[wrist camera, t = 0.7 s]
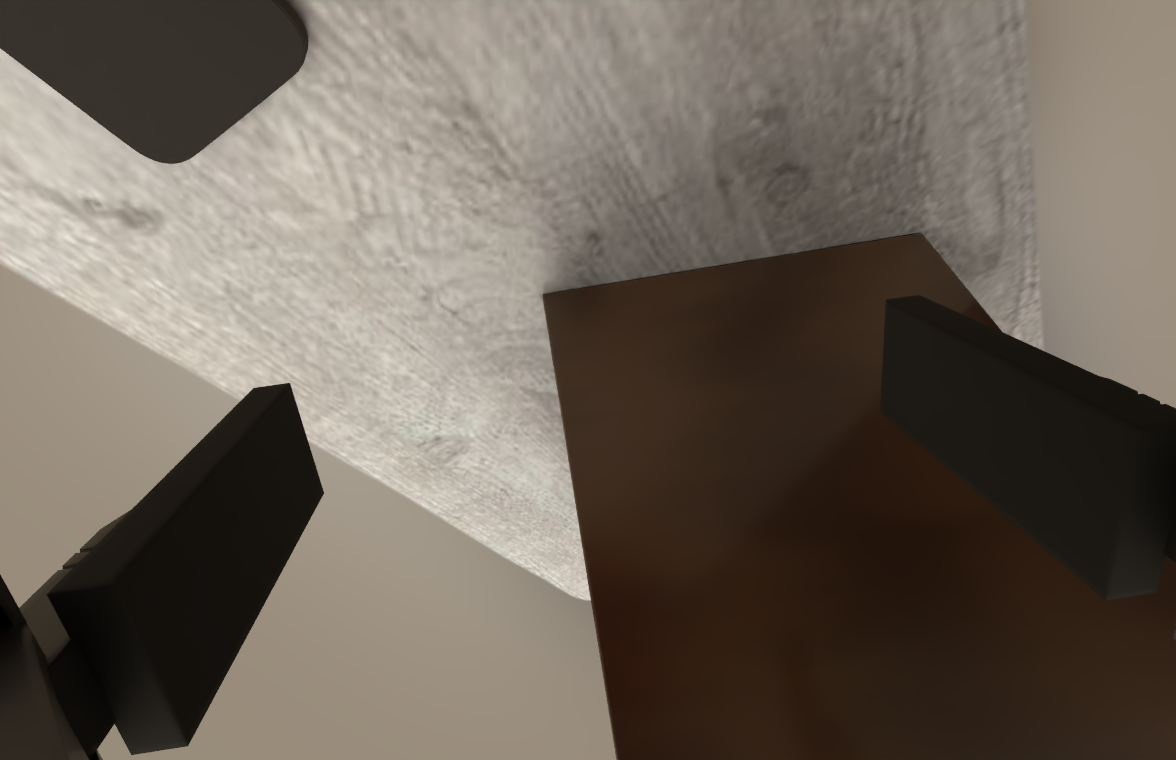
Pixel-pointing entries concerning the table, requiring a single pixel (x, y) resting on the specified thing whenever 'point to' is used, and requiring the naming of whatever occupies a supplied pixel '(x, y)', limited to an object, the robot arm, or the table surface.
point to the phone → (158, 62)
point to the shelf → (821, 538)
